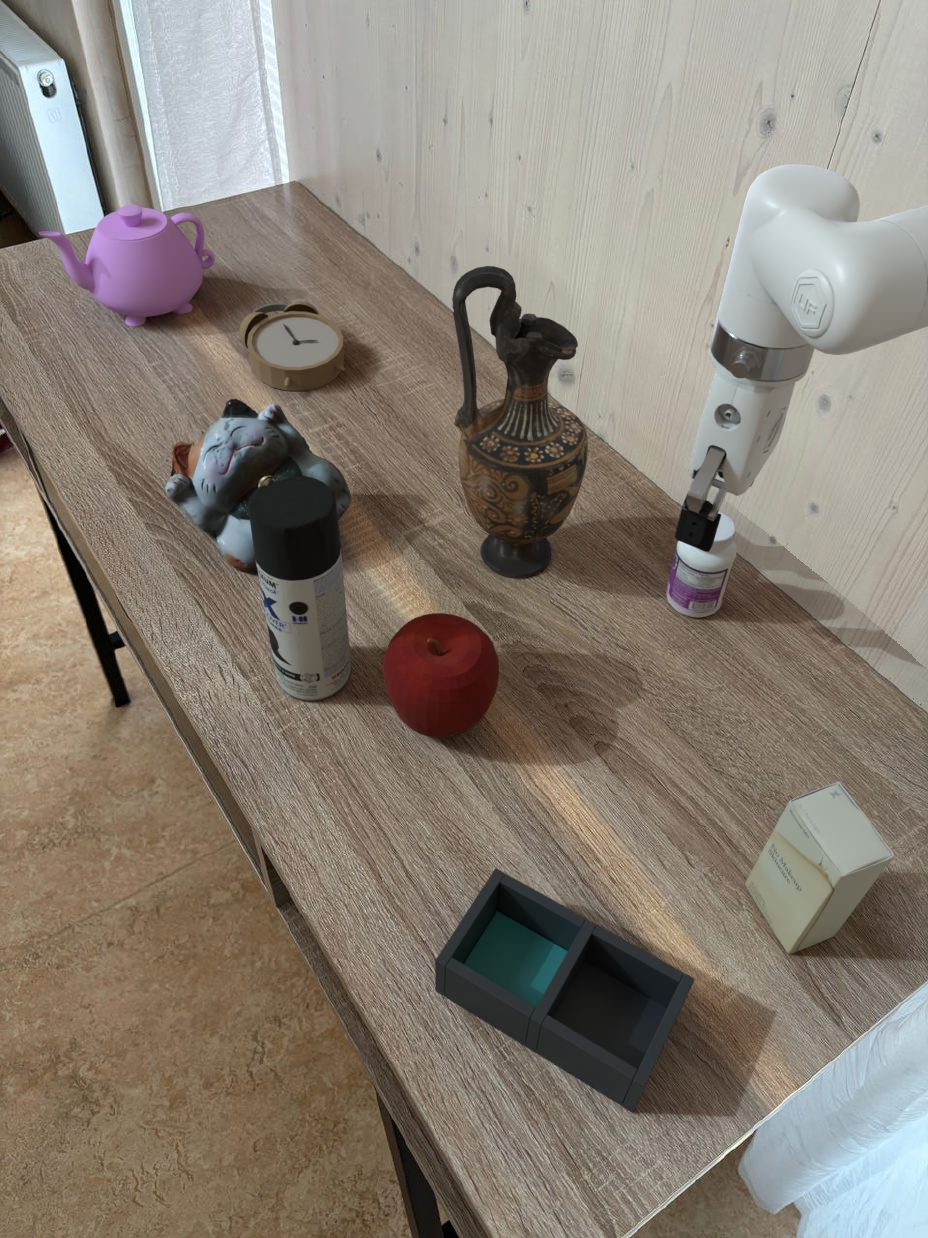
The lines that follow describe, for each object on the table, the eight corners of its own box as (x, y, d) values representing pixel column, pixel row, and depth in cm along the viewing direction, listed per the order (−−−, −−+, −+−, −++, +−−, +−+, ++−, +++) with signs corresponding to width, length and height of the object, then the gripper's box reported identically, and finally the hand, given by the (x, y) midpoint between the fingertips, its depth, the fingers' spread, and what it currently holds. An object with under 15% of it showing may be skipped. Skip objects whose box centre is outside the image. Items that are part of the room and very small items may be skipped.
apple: (473, 660, 91) (476, 583, 84) (513, 743, 85) (520, 667, 78) (372, 688, 89) (366, 610, 81) (406, 775, 83) (403, 700, 75)
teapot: (82, 353, 122) (53, 256, 113) (51, 298, 130) (21, 203, 121) (238, 311, 129) (223, 216, 120) (199, 261, 137) (182, 169, 128)
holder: (681, 1008, 70) (695, 978, 67) (632, 1113, 66) (644, 1087, 62) (492, 901, 75) (495, 867, 72) (434, 991, 71) (435, 960, 67)
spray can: (267, 657, 91) (234, 485, 76) (339, 635, 93) (321, 464, 78) (288, 712, 87) (258, 542, 72) (363, 688, 89) (349, 518, 74)
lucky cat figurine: (245, 600, 95) (157, 481, 88) (215, 562, 105) (135, 452, 98) (373, 509, 98) (299, 386, 90) (333, 480, 108) (263, 368, 100)
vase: (574, 595, 97) (615, 315, 74) (445, 589, 97) (447, 307, 75) (572, 514, 105) (608, 237, 82) (452, 508, 105) (456, 231, 83)
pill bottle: (681, 571, 99) (700, 496, 92) (730, 595, 97) (754, 520, 90) (654, 603, 96) (672, 528, 89) (705, 628, 94) (727, 554, 87)
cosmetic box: (742, 884, 77) (783, 798, 68) (791, 865, 78) (838, 777, 69) (789, 959, 73) (840, 877, 64) (841, 937, 74) (897, 854, 65)
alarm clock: (269, 382, 114) (220, 298, 121) (272, 413, 118) (224, 331, 125) (360, 356, 118) (308, 276, 124) (359, 387, 122) (309, 308, 128)
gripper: (770, 418, 70) (717, 588, 83) (846, 305, 80) (788, 472, 93) (670, 382, 72) (633, 553, 85) (756, 277, 82) (711, 444, 95)
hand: (714, 511), depth 89 cm, fingers open, 9 cm apart
